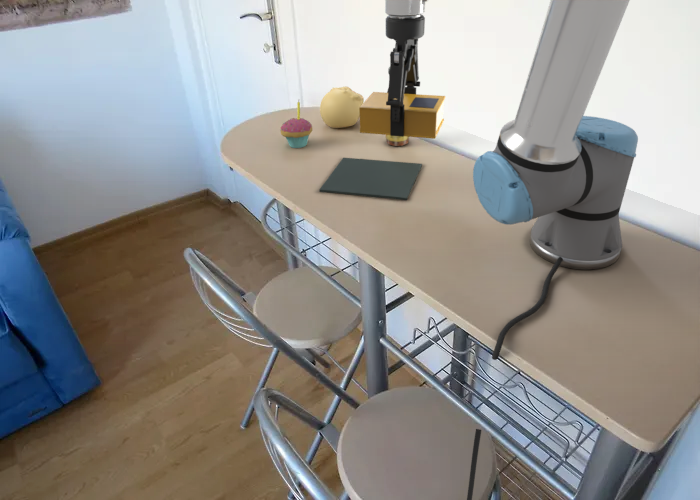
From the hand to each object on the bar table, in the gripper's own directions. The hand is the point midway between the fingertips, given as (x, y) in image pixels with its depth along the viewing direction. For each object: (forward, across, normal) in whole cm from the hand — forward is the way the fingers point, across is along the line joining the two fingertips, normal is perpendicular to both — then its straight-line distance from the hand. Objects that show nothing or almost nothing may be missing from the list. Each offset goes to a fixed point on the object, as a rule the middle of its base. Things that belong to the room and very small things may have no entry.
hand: (403, 125), depth 112 cm
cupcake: (+14, +16, +32) cm, 39 cm away
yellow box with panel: (0, 0, 0) cm, 0 cm away
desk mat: (+13, 0, +7) cm, 15 cm away
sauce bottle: (+14, +22, +7) cm, 27 cm away
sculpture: (+14, +33, +26) cm, 44 cm away
